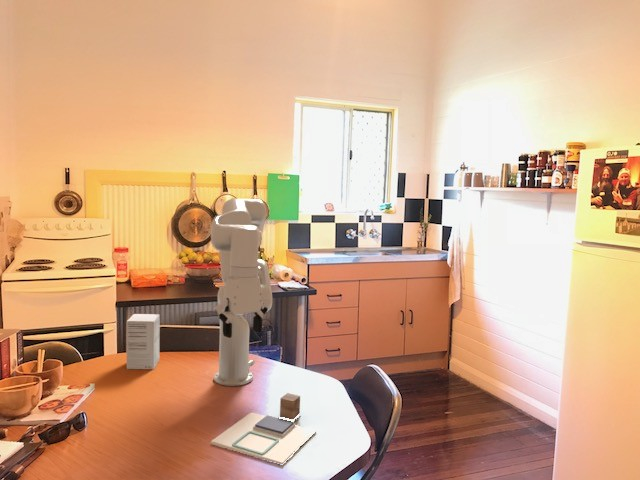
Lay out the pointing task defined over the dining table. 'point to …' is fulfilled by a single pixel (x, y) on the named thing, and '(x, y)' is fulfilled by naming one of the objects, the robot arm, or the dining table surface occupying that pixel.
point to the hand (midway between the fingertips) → (242, 333)
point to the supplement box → (143, 341)
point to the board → (262, 437)
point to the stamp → (289, 406)
